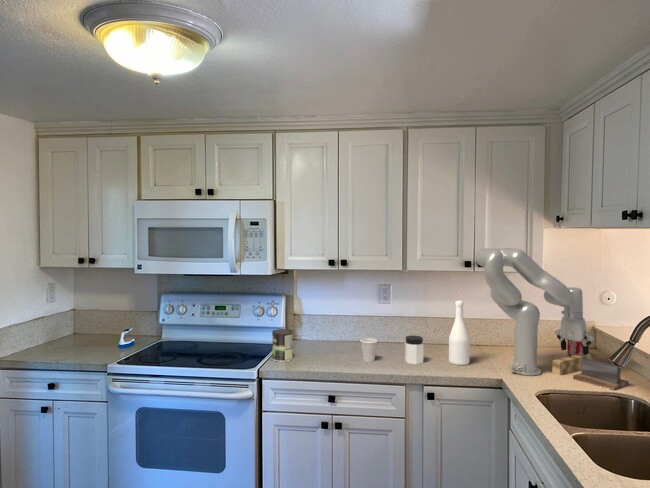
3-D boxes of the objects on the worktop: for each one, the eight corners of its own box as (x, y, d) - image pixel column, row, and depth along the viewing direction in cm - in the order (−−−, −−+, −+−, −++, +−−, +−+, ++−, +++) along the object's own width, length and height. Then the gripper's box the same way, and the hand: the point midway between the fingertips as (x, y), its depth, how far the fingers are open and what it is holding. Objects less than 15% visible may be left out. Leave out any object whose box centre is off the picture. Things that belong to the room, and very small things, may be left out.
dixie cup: (369, 356, 221) (369, 337, 221) (380, 360, 214) (380, 340, 214) (356, 359, 216) (356, 339, 216) (368, 363, 210) (368, 343, 209)
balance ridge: (613, 390, 173) (614, 370, 173) (573, 378, 186) (573, 360, 186) (628, 384, 179) (628, 365, 179) (588, 374, 193) (588, 356, 193)
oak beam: (559, 375, 191) (559, 362, 191) (552, 373, 194) (552, 360, 194) (591, 367, 203) (591, 354, 203) (583, 365, 206) (583, 352, 206)
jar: (424, 364, 208) (424, 339, 208) (408, 364, 208) (408, 339, 207) (420, 359, 217) (420, 335, 217) (403, 359, 217) (403, 335, 216)
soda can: (585, 359, 214) (586, 335, 214) (570, 359, 215) (570, 334, 215) (580, 355, 221) (580, 332, 221) (565, 355, 222) (565, 331, 222)
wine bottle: (444, 361, 212) (444, 300, 211) (458, 358, 217) (458, 298, 216) (459, 367, 204) (459, 303, 203) (473, 363, 208) (474, 301, 208)
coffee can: (274, 363, 212) (274, 334, 211) (270, 357, 222) (270, 329, 221) (295, 360, 215) (295, 332, 215) (290, 355, 225) (290, 328, 224)
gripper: (550, 313, 203) (551, 349, 204) (588, 319, 189) (589, 358, 189) (559, 311, 207) (560, 346, 208) (597, 316, 193) (598, 354, 193)
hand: (574, 352), depth 199 cm, fingers open, 9 cm apart
